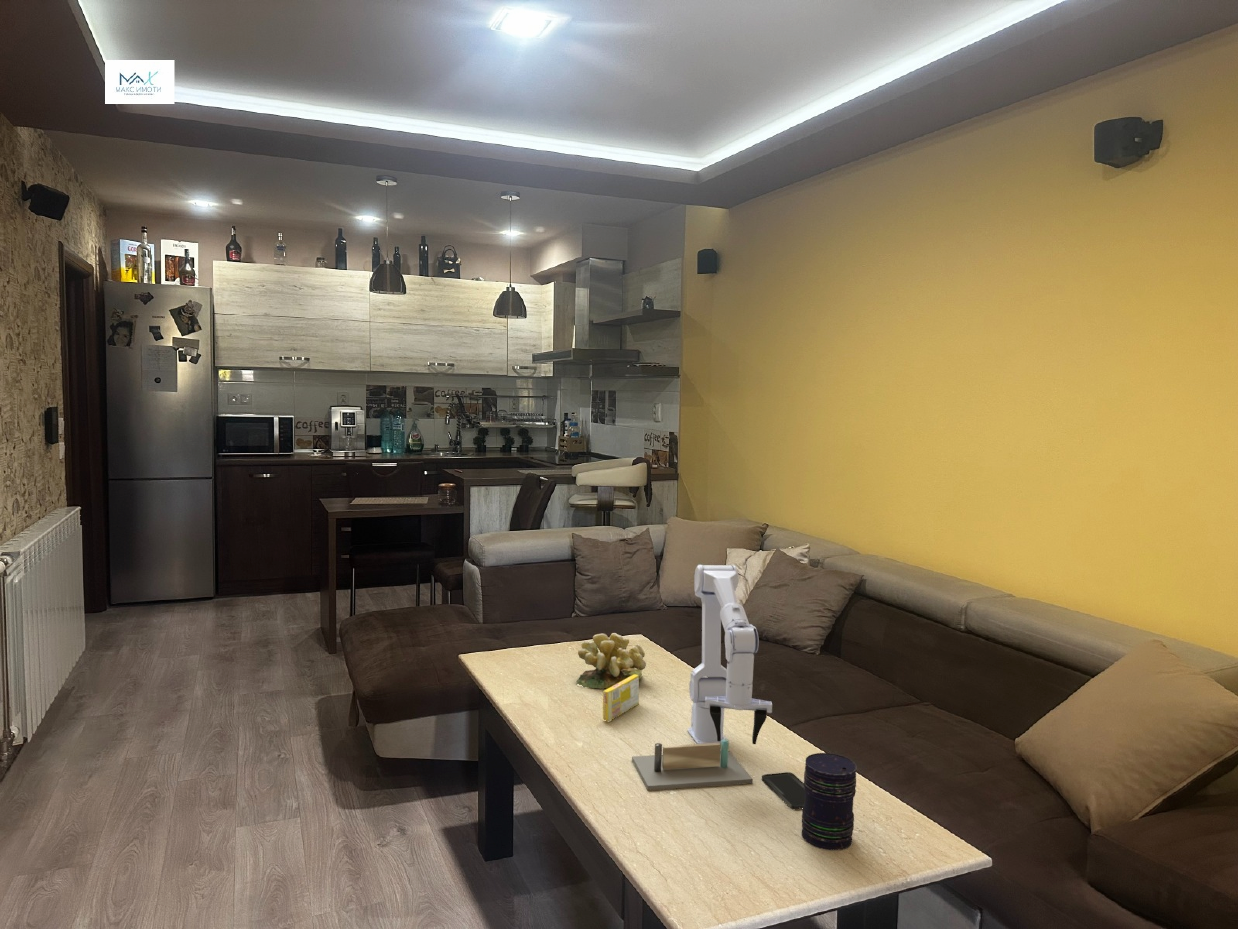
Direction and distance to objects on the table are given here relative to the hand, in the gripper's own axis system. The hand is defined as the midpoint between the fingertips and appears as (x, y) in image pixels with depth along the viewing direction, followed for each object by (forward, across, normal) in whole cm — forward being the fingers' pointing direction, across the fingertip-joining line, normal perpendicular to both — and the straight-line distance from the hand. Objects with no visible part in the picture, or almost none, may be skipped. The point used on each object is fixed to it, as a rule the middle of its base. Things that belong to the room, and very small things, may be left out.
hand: (736, 741), depth 185 cm
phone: (+10, +12, -2) cm, 16 cm away
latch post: (+10, -2, +6) cm, 11 cm away
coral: (+10, -36, +62) cm, 72 cm away
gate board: (+10, -10, +4) cm, 14 cm away
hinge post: (+10, -17, 0) cm, 20 cm away
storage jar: (+10, +17, -20) cm, 28 cm away
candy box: (+10, -30, +36) cm, 48 cm away
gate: (+8, -10, +3) cm, 13 cm away
